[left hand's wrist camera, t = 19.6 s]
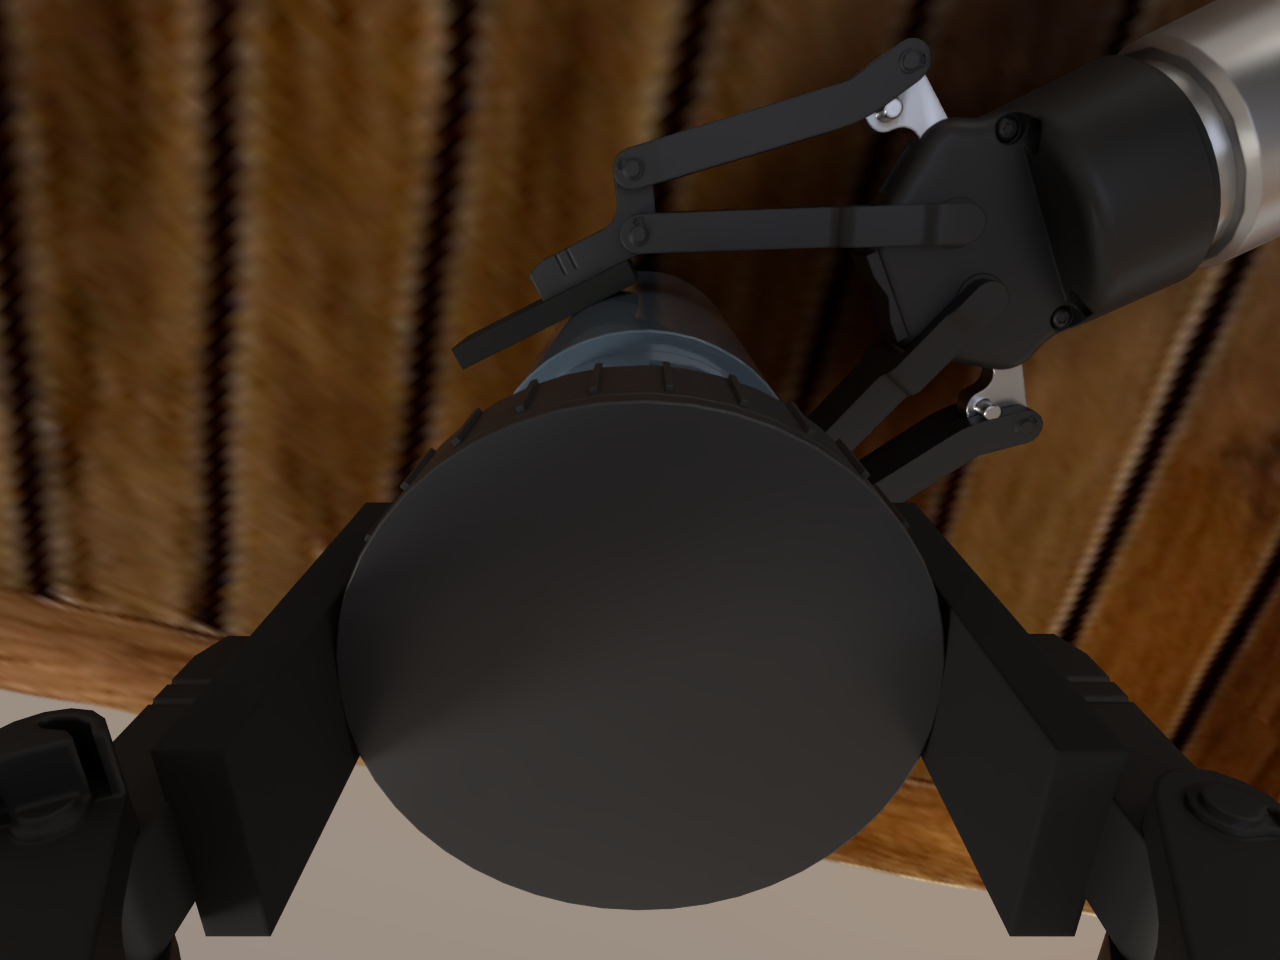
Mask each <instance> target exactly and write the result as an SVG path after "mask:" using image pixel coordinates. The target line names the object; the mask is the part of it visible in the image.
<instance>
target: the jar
mask: <svg viewBox="0 0 1280 960" xmlns="http://www.w3.org/2000/svg"><path fill="white" fill-rule="evenodd" d="M637 273H638V282H637V283H635V284H633V285H631V286H629V287H627V288H625V289H623V290H621V291H619V292H617V293H615V294H613V295H611V296H609V297H607V298H605V299H603V300H601V301H599V302H597V303H595V304H593V305H591V306H589V307H587V308H585V309H583V310H581V311H579V312H577V313H575V314H573V315H571V316H569V317H567V318H565V319H563V320H561V322H560V323H559V325H558V326H557V328H556V329H555V331H554V332H553V334H552V335H551V337H550V338H549V340H548V341H547V343H546V344H545V346H544V347H543V349H542V350H541V352H540V353H539V355H538V356H537V358H536V359H535V361H534V362H533V364H532V365H531V367H530V368H529V370H528V371H527V373H526V374H525V376H524V377H523V379H522V380H521V382H520V383H519V385H518V386H517V388H516V389H515V391H514V392H513V394H515V393H517V392H519V391H522V390H524V389H526V388H527V386H528V384H529V383H530V381H531V380H534V379H537V380H538V382H539V383H542V382H545V381H548V380H551V379H554V378H557V377H560V376H563V375H566V374H571V373H576V372H582V371H587V370H593V369H594V366H595V364H597V363H602V365H603V367H618V366H637V365H649V366H662V365H663V361H666V362H670V364H671V367H675V368H685V369H689V370H694V371H699V372H704V373H708V374H713V375H718V376H722V377H725V378H727V379H728V376H729V374H732V375H735V376H736V377H737V379H738V381H739V383H742V384H745V385H747V386H750V387H753V388H756V389H758V390H760V391H762V392H764V393H766V394H768V395H770V396H772V397H774V398H775V399H777V400H779V401H780V399H779V398H778V396H777V395H776V393H775V392H774V390H773V389H772V387H771V386H770V385H769V383H768V382H767V380H766V379H765V377H764V376H763V374H762V373H761V371H760V370H759V368H758V367H757V366H756V364H755V363H754V361H753V360H752V358H751V357H750V355H749V354H748V352H747V351H746V349H745V348H744V347H743V345H742V344H741V342H740V341H739V339H738V338H737V336H736V335H735V333H734V332H733V330H732V329H731V328H730V326H729V325H728V323H727V322H726V320H725V319H724V317H723V316H722V314H721V313H720V312H719V310H718V309H717V308H716V306H715V305H714V304H713V302H712V301H711V300H710V299H709V298H708V297H707V296H706V295H705V294H704V293H702V292H701V291H700V290H698V289H697V288H696V287H694V286H693V285H691V284H689V283H688V282H686V281H684V280H682V279H679V278H677V277H674V276H672V275H668V274H664V273H660V272H651V271H637ZM513 394H512V395H513Z"/></svg>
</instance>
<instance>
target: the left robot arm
mask: <svg viewBox="0 0 1280 960" xmlns="http://www.w3.org/2000/svg"><path fill="white" fill-rule="evenodd" d="M892 504H893V505H894V506H895V508H896V509H897V510H898V511H899V513H900V514H901V515H902V516H903V518H904V519H905V520H906V521H907V523H908V525H909V526H910V527H909V528H908V529H906V530H907V532H908V533H909V535H910V537H911V539H912V540H913V542H914V544H915V545H916V547H917V549H918V551H919V552H920V554H921V556H922V558H923V559H924V562H925V564H926V567H927V570H928V572H929V575H930V577H931V579H932V583H933V585H934V588H935V591H936V593H937V598H938V603H939V607H940V612H941V617H942V622H943V627H944V646H945V668H944V674H943V680H942V686H941V692H940V698H939V703H938V708H937V713H936V717H935V721H934V725H933V728H932V730H931V733H930V735H929V737H928V740H927V742H926V744H925V746H924V749H923V751H922V753H921V757H922V759H923V761H924V763H925V765H926V767H927V769H928V771H929V773H930V775H931V777H932V780H933V782H934V784H935V786H936V788H937V790H938V792H939V794H940V796H941V798H942V800H943V802H944V804H945V806H946V808H947V810H948V812H949V814H950V816H951V818H952V820H953V822H954V824H955V826H956V828H957V830H958V832H959V834H960V836H961V838H962V840H963V842H964V844H965V846H966V848H967V850H968V852H969V854H970V856H971V858H972V860H973V863H974V865H975V867H976V869H977V871H978V873H979V875H980V877H981V879H982V881H983V883H984V885H985V887H986V889H987V891H988V893H989V895H990V897H991V899H992V901H993V903H994V905H995V907H996V909H997V911H998V913H999V915H1000V917H1001V919H1002V921H1003V923H1004V925H1005V927H1006V929H1007V931H1008V933H1009V935H1010V936H1075V933H1076V930H1077V926H1078V923H1079V920H1080V916H1081V913H1082V910H1083V907H1084V903H1085V900H1086V899H1087V901H1088V903H1089V904H1090V906H1091V907H1092V909H1093V911H1094V912H1095V914H1096V915H1097V917H1098V919H1099V920H1100V922H1101V923H1102V925H1103V927H1104V928H1105V930H1106V934H1105V937H1104V940H1103V943H1102V946H1101V950H1100V953H1099V956H1098V959H1097V960H1280V804H1279V803H1278V802H1277V801H1275V800H1274V799H1273V798H1272V797H1270V796H1268V795H1267V794H1265V793H1263V792H1261V791H1259V790H1257V789H1256V788H1254V787H1252V786H1250V785H1248V784H1247V783H1245V782H1243V781H1240V780H1237V779H1234V778H1232V777H1229V776H1226V775H1223V774H1220V773H1218V772H1215V771H1209V770H1202V769H1197V768H1196V767H1195V766H1194V765H1193V764H1192V763H1191V762H1190V761H1189V760H1188V759H1187V758H1186V757H1185V756H1184V755H1183V754H1182V753H1181V752H1180V751H1179V750H1178V749H1177V748H1176V746H1175V745H1174V744H1173V743H1172V742H1171V741H1170V740H1169V739H1168V738H1167V737H1166V736H1165V735H1164V734H1163V733H1162V732H1161V731H1160V730H1159V729H1158V728H1157V727H1156V726H1155V725H1154V724H1153V723H1152V721H1151V720H1150V719H1149V718H1148V717H1147V716H1146V715H1145V714H1144V713H1143V712H1142V711H1141V710H1140V709H1139V708H1138V707H1137V706H1136V705H1135V704H1134V703H1133V702H1129V701H1128V696H1127V695H1126V694H1125V693H1124V692H1123V691H1122V690H1121V689H1120V688H1119V687H1118V686H1117V685H1116V684H1115V683H1114V682H1110V681H1109V677H1108V676H1107V675H1106V673H1105V672H1104V671H1103V670H1102V669H1101V668H1100V667H1099V666H1098V665H1097V664H1096V663H1095V662H1094V661H1093V660H1092V659H1091V658H1090V657H1089V656H1088V655H1087V654H1086V653H1084V652H1083V651H1081V650H1079V649H1078V648H1076V647H1074V646H1073V645H1071V644H1069V643H1068V642H1066V641H1065V640H1063V639H1061V638H1060V637H1058V636H1056V635H1055V634H1028V633H1027V632H1026V630H1025V629H1024V628H1023V627H1022V626H1021V625H1020V624H1019V622H1018V621H1017V620H1016V619H1015V618H1014V617H1013V616H1012V614H1011V613H1010V612H1009V611H1008V610H1007V609H1006V608H1005V606H1004V605H1003V604H1002V603H1001V602H1000V601H999V599H998V598H997V597H996V596H995V595H994V594H993V593H992V591H991V590H990V589H989V588H988V587H987V586H986V585H985V583H984V582H983V581H982V580H981V579H980V578H979V577H978V575H977V574H976V573H975V572H974V571H973V570H972V568H971V567H970V566H969V565H968V564H967V563H966V562H965V560H964V559H963V558H962V557H961V556H960V555H959V554H958V552H957V551H956V550H955V549H954V548H953V547H952V546H951V544H950V543H949V542H948V541H947V540H946V539H945V538H944V536H943V535H942V534H941V533H940V532H939V531H938V529H937V528H936V527H935V526H934V525H933V524H932V523H931V521H930V520H929V519H928V518H927V517H926V516H925V515H924V513H923V512H922V511H921V510H920V509H919V508H918V507H917V505H916V504H915V503H892ZM390 505H391V503H366V504H365V505H364V506H363V507H362V508H361V509H360V511H359V512H358V513H357V514H356V515H355V516H354V517H353V519H352V520H351V521H350V522H349V523H348V524H347V525H346V527H345V528H344V529H343V530H342V531H341V532H340V533H339V535H338V536H337V537H336V538H335V539H334V540H333V542H332V543H331V544H330V545H329V546H328V547H327V548H326V550H325V551H324V552H323V553H322V554H321V555H320V556H319V558H318V559H317V560H316V561H315V562H314V563H313V564H312V566H311V567H310V568H309V569H308V570H307V571H306V573H305V574H304V575H303V576H302V577H301V578H300V579H299V581H298V582H297V583H296V584H295V585H294V586H293V587H292V589H291V590H290V591H289V592H288V593H287V594H286V595H285V597H284V598H283V599H282V600H281V601H280V602H279V604H278V605H277V606H276V607H275V608H274V609H273V610H272V612H271V613H270V614H269V615H268V616H267V617H266V618H265V620H264V621H263V622H262V623H261V624H260V625H259V626H258V628H257V629H256V630H255V631H254V632H253V633H252V634H251V636H227V637H225V638H224V639H222V640H220V641H219V642H217V643H215V644H214V645H212V646H211V647H209V648H207V649H206V650H204V651H202V652H201V653H199V654H197V655H196V656H194V657H193V658H192V659H191V660H190V661H189V663H188V664H187V665H186V666H185V667H184V668H183V669H182V670H181V671H180V672H179V673H178V674H177V675H176V676H175V677H174V678H173V679H172V684H171V685H167V686H166V687H165V688H164V689H163V690H162V691H161V692H160V693H159V694H158V695H157V696H156V697H155V698H154V699H153V704H152V705H148V706H147V707H146V708H145V709H144V710H143V711H142V712H141V713H140V714H139V715H138V716H137V717H136V718H135V719H134V720H133V721H132V722H131V723H130V724H129V726H128V727H127V728H126V729H125V730H124V731H123V732H122V733H121V734H120V735H119V736H118V737H117V738H116V739H115V740H114V741H113V742H112V739H111V736H110V732H109V729H108V726H107V723H106V720H105V718H103V717H102V716H100V715H99V714H97V713H96V712H94V711H93V710H83V709H73V708H70V709H63V710H56V711H49V712H43V713H40V714H37V715H34V716H31V717H27V718H24V719H21V720H18V721H15V722H12V723H10V724H8V725H6V726H4V727H2V728H0V960H181V958H180V952H179V947H178V943H177V940H176V937H175V933H176V931H177V930H178V928H179V926H180V925H181V923H182V922H183V920H184V918H185V917H186V915H187V914H188V912H189V910H190V909H191V907H192V906H193V904H194V902H195V901H196V905H197V908H198V911H199V915H200V918H201V921H202V925H203V928H204V931H205V935H206V936H271V934H272V932H273V930H274V928H275V926H276V924H277V922H278V920H279V918H280V916H281V914H282V912H283V910H284V908H285V906H286V904H287V902H288V900H289V898H290V896H291V894H292V892H293V890H294V888H295V886H296V884H297V882H298V880H299V878H300V876H301V874H302V872H303V869H304V867H305V865H306V863H307V861H308V859H309V857H310V855H311V853H312V851H313V849H314V847H315V845H316V843H317V841H318V839H319V837H320V835H321V833H322V831H323V829H324V827H325V825H326V823H327V821H328V819H329V817H330V815H331V813H332V811H333V809H334V807H335V805H336V803H337V801H338V799H339V797H340V795H341V793H342V791H343V788H344V787H345V784H346V782H347V780H348V778H349V776H350V774H351V772H352V770H353V768H354V766H355V764H356V762H357V760H358V758H359V756H360V754H359V752H358V750H357V748H356V745H355V743H354V740H353V738H352V735H351V733H350V730H349V728H348V725H347V723H346V719H345V715H344V711H343V705H342V700H341V695H340V690H339V683H338V677H337V668H336V656H335V655H336V641H337V628H338V619H339V615H340V611H341V607H342V602H343V598H344V594H345V590H346V586H347V584H348V582H349V579H350V577H351V574H352V572H353V569H354V567H355V565H356V562H357V560H358V557H359V555H360V553H361V551H362V550H363V548H364V547H365V545H366V543H367V541H365V540H364V539H365V537H366V535H367V534H368V532H369V531H370V530H371V529H372V527H373V526H374V525H375V524H376V522H377V521H378V520H379V519H380V517H381V516H382V515H383V513H384V512H385V511H386V510H387V508H388V507H389V506H390Z"/></svg>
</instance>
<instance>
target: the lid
mask: <svg viewBox="0 0 1280 960" xmlns="http://www.w3.org/2000/svg"><path fill="white" fill-rule="evenodd" d="M869 476H870V474H869V473H868V472H867V470H866V469H865V468H864V467H863V465H862V464H861V463H860V462H859V460H858V459H857V458H856V457H855V455H854V454H853V453H852V452H851V450H850V449H849V448H848V447H847V445H846V444H845V443H844V442H843V441H842V440H841V439H840V438H838V439H837V440H836V441H834V440H833V439H832V438H831V437H830V436H829V435H828V434H826V433H825V432H824V431H823V430H822V429H821V428H820V427H819V426H818V425H816V424H815V423H813V422H812V421H811V420H809V419H808V418H806V417H805V416H804V415H803V414H802V412H801V411H800V410H799V408H798V407H797V405H796V404H795V403H794V402H792V401H791V400H789V401H788V403H787V404H785V403H783V402H781V401H779V400H777V399H775V398H774V397H772V396H770V395H768V394H766V393H764V392H762V391H760V390H758V389H756V388H753V387H750V386H747V385H745V384H742V383H739V381H738V379H737V377H736V376H735V375H732V374H729V376H728V379H727V378H725V377H722V376H718V375H713V374H708V373H704V372H699V371H694V370H689V369H685V368H675V367H671V364H670V362H666V361H663V365H662V366H649V365H637V366H618V367H603V365H602V363H597V364H595V366H594V369H593V370H587V371H582V372H576V373H571V374H566V375H563V376H560V377H557V378H554V379H551V380H548V381H545V382H542V383H539V382H538V380H537V379H534V380H531V381H530V383H529V384H528V386H527V388H526V389H524V390H522V391H519V392H517V393H515V394H513V395H511V396H509V397H507V398H505V399H503V400H501V401H499V402H497V403H495V404H494V405H492V406H491V407H489V408H488V409H486V410H485V411H483V412H482V411H481V410H480V409H479V408H477V409H476V410H475V411H473V413H472V414H471V415H470V417H469V418H468V419H467V421H466V422H465V423H464V425H463V426H462V427H461V428H460V429H459V430H458V431H457V432H456V433H454V434H453V435H452V436H451V437H450V438H449V439H448V440H446V441H445V442H444V443H443V444H442V445H441V446H440V447H439V448H438V450H437V451H435V450H434V449H433V448H431V449H430V450H429V451H428V452H427V453H426V455H425V456H424V457H423V458H422V460H421V461H420V462H419V463H418V465H417V466H416V467H415V468H414V470H413V471H412V472H411V473H410V475H409V476H408V477H407V478H406V479H405V481H404V482H403V483H402V484H401V486H400V487H401V488H402V489H403V490H404V491H403V493H402V494H401V495H400V496H397V497H396V498H395V500H394V501H393V502H392V503H391V505H390V506H389V507H388V508H387V510H386V511H385V512H384V513H383V515H382V516H381V517H380V519H379V520H378V521H377V522H376V524H375V525H374V526H373V527H372V529H371V530H370V531H369V532H368V534H367V535H366V537H365V539H364V540H365V541H367V543H366V545H365V547H364V548H363V550H362V551H361V553H360V555H359V557H358V560H357V562H356V565H355V567H354V569H353V572H352V574H351V577H350V579H349V582H348V584H347V586H346V590H345V594H344V598H343V602H342V607H341V611H340V615H339V619H338V628H337V641H336V655H335V656H336V668H337V677H338V683H339V690H340V695H341V700H342V705H343V711H344V715H345V719H346V723H347V725H348V728H349V730H350V733H351V735H352V738H353V740H354V743H355V745H356V748H357V750H358V752H359V754H360V756H361V758H362V759H363V761H364V763H365V764H366V766H367V768H368V770H369V771H370V773H371V775H372V776H373V778H374V780H375V781H376V783H377V784H378V785H379V787H380V788H381V789H382V790H383V792H384V793H385V794H386V796H387V797H388V798H389V799H390V801H391V802H392V803H393V805H394V806H395V807H396V808H397V809H398V810H399V811H400V812H401V813H402V814H403V815H404V816H405V817H406V818H407V819H408V820H409V821H410V822H411V823H412V824H413V825H414V826H415V827H416V828H417V829H418V830H419V831H420V832H422V833H423V834H424V835H425V836H427V837H428V838H429V839H430V840H432V841H433V842H434V843H436V844H437V845H438V846H439V847H441V848H442V849H443V850H445V851H446V852H447V853H449V854H451V855H452V856H454V857H456V858H457V859H459V860H460V861H462V862H464V863H465V864H467V865H468V866H470V867H472V868H473V869H475V870H477V871H480V872H482V873H484V874H486V875H488V876H490V877H492V878H494V879H496V880H498V881H500V882H502V883H505V884H508V885H510V886H513V887H516V888H519V889H521V890H524V891H527V892H530V893H532V894H535V895H539V896H543V897H547V898H551V899H555V900H559V901H563V902H567V903H572V904H578V905H585V906H592V907H598V908H608V909H626V910H654V909H674V908H681V907H689V906H696V905H703V904H709V903H713V902H717V901H722V900H726V899H730V898H734V897H739V896H742V895H745V894H748V893H750V892H753V891H756V890H759V889H762V888H765V887H768V886H771V885H773V884H776V883H778V882H780V881H782V880H784V879H786V878H789V877H791V876H793V875H795V874H797V873H800V872H802V871H803V870H805V869H807V868H809V867H810V866H812V865H813V864H815V863H817V862H819V861H820V860H822V859H824V858H825V857H827V856H829V855H830V854H832V853H833V852H835V851H836V850H837V849H839V848H840V847H841V846H843V845H844V844H845V843H846V842H848V841H849V840H850V839H852V838H853V837H854V836H856V835H857V834H858V833H859V832H860V831H861V830H862V829H863V828H865V827H866V826H867V825H868V824H869V823H870V822H871V821H872V820H873V819H874V818H875V817H876V816H877V815H878V814H879V813H880V812H881V811H882V810H883V809H884V808H885V806H886V805H887V804H888V803H889V801H890V800H891V799H892V798H893V797H894V795H895V794H896V793H897V792H898V790H899V789H900V788H901V787H902V785H903V784H904V782H905V781H906V779H907V777H908V776H909V774H910V772H911V771H912V769H913V768H914V766H915V764H916V763H917V761H918V759H919V758H920V756H921V753H922V751H923V749H924V746H925V744H926V742H927V740H928V737H929V735H930V733H931V730H932V728H933V725H934V721H935V717H936V713H937V708H938V703H939V698H940V692H941V686H942V680H943V674H944V668H945V646H944V627H943V622H942V617H941V612H940V607H939V603H938V598H937V593H936V591H935V588H934V585H933V583H932V579H931V577H930V575H929V572H928V570H927V567H926V564H925V562H924V559H923V558H922V556H921V554H920V552H919V551H918V549H917V547H916V545H915V544H914V542H913V540H912V539H911V537H910V535H909V533H908V532H907V530H906V529H908V528H909V527H910V526H909V525H908V523H907V521H906V520H905V519H904V518H903V516H902V515H901V514H900V513H899V511H898V510H897V509H896V508H895V506H894V505H893V504H892V503H891V501H890V500H889V499H888V498H887V496H886V495H885V494H884V493H883V491H882V490H881V489H880V488H879V486H878V485H877V484H875V485H873V486H872V484H871V483H870V482H869V481H868V479H867V478H868V477H869Z"/></svg>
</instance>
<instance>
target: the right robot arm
mask: <svg viewBox="0 0 1280 960" xmlns="http://www.w3.org/2000/svg"><path fill="white" fill-rule="evenodd" d="M930 64H931V53H930V49H929V47H928V46H927V44H926V43H925V42H924V41H922V40H920V39H918V38H908V39H906V40H904V41H902V42H900V43H898V44H897V45H895V46H893V47H892V48H890V49H888V50H887V51H885V52H883V53H882V54H880V55H879V56H877V57H875V58H874V59H873V60H871V61H870V62H869V63H867V64H866V65H865V66H864V67H862V68H861V69H860V70H858V71H857V72H856V73H854V74H853V75H852V76H850V77H849V78H848V79H846V80H845V81H844V82H842V83H838V84H835V85H832V86H829V87H825V88H822V89H819V90H816V91H812V92H809V93H806V94H803V95H799V96H796V97H793V98H790V99H786V100H783V101H780V102H776V103H773V104H770V105H767V106H763V107H760V108H757V109H754V110H750V111H747V112H744V113H741V114H737V115H734V116H731V117H727V118H724V119H721V120H718V121H714V122H711V123H708V124H705V125H701V126H698V127H695V128H692V129H688V130H685V131H682V132H678V133H675V134H672V135H669V136H665V137H662V138H659V139H656V140H652V141H649V142H646V143H643V144H639V145H636V146H633V147H629V148H627V149H625V150H623V151H621V152H620V153H619V154H618V155H617V157H616V158H615V161H614V164H613V175H614V182H615V191H616V201H617V210H616V214H615V217H614V219H613V221H612V222H611V223H610V225H609V226H607V227H606V228H604V229H602V230H600V231H598V232H596V233H595V234H593V235H591V236H589V237H587V238H585V239H583V240H581V241H579V242H577V243H575V244H573V245H571V246H569V247H567V248H565V249H563V250H562V251H560V252H558V253H556V254H554V255H552V256H550V257H548V258H546V259H544V260H543V261H541V262H540V263H539V264H538V265H537V266H536V267H535V269H534V270H533V271H532V272H531V273H530V275H529V276H530V277H531V279H532V281H533V283H534V285H535V287H536V289H537V291H538V293H539V295H540V297H541V299H540V300H538V301H536V302H534V303H532V304H530V305H528V306H526V307H524V308H522V309H520V310H518V311H516V312H514V313H512V314H510V315H508V316H506V317H504V318H502V319H500V320H498V321H496V322H494V323H493V324H491V325H489V326H487V327H485V328H483V329H481V330H479V331H477V332H475V333H473V334H471V335H469V336H468V337H466V338H465V339H464V340H463V341H461V342H460V343H459V344H457V345H456V346H455V347H454V348H452V349H451V350H452V352H453V354H454V355H455V357H456V359H457V360H458V362H459V364H460V366H461V367H462V369H465V368H467V367H469V366H471V365H473V364H475V363H477V362H479V361H481V360H483V359H485V358H487V357H489V356H491V355H493V354H495V353H497V352H499V351H501V350H503V349H505V348H507V347H509V346H511V345H513V344H515V343H517V342H519V341H521V340H523V339H525V338H527V337H529V336H531V335H533V334H535V333H537V332H539V331H541V330H543V329H545V328H547V327H549V326H551V325H553V324H555V323H557V322H559V321H561V320H563V319H565V318H567V317H569V316H571V315H573V314H575V313H577V312H579V311H581V310H583V309H585V308H587V307H589V306H591V305H593V304H595V303H597V302H599V301H601V300H603V299H605V298H607V297H609V296H611V295H613V294H615V293H617V292H619V291H621V290H623V289H625V288H627V287H629V286H631V285H633V284H635V283H637V282H638V273H637V271H636V269H635V267H634V265H633V263H632V261H631V259H632V258H634V257H636V256H638V255H640V254H653V253H682V252H711V251H740V250H770V249H799V248H828V247H837V248H854V250H852V251H850V253H851V256H852V259H853V261H854V264H855V267H856V270H857V272H858V274H859V275H860V276H861V278H862V279H863V280H864V282H865V283H866V284H867V286H868V287H869V288H870V290H871V299H872V312H873V316H874V318H875V321H876V324H877V326H878V329H879V332H880V333H881V334H880V335H879V336H878V337H877V338H876V339H875V340H874V341H873V342H872V343H871V345H870V346H869V347H868V348H867V349H866V350H865V352H864V354H863V357H862V360H861V361H860V362H859V364H858V365H857V366H856V367H855V368H854V369H853V370H852V371H851V372H850V373H849V374H848V375H847V376H846V377H845V378H844V379H843V380H842V381H841V383H840V384H839V385H838V386H837V387H836V388H835V389H834V390H833V391H832V392H831V393H830V394H829V395H828V396H827V397H826V398H825V399H824V400H823V401H822V402H821V403H820V404H819V406H818V407H817V408H816V409H815V410H814V411H813V412H812V413H811V414H810V415H809V416H808V417H807V418H808V419H809V420H811V421H812V422H813V423H815V424H816V425H818V426H819V427H820V428H821V429H822V430H823V431H824V432H825V433H826V434H828V435H829V436H830V437H831V438H832V439H833V440H834V441H836V440H837V439H838V438H840V439H841V440H842V441H843V442H844V443H845V444H846V445H847V447H848V448H849V449H850V450H851V452H852V451H853V450H854V449H855V448H856V447H857V446H858V445H859V444H860V443H861V442H862V441H863V440H864V439H865V438H866V437H867V436H868V435H869V434H870V433H871V432H872V431H873V430H874V429H875V428H876V427H877V426H878V425H879V424H880V423H881V422H882V421H883V420H884V419H885V418H886V417H887V416H888V415H889V414H890V413H891V412H892V411H893V410H894V409H895V408H896V407H897V406H898V404H899V403H900V402H901V401H903V400H904V399H905V398H907V397H909V396H912V395H915V394H917V393H918V392H920V391H921V390H922V389H923V388H924V387H925V386H926V385H927V384H928V383H929V382H930V381H931V380H932V379H933V378H934V377H935V376H936V375H937V374H938V373H939V372H940V371H941V370H942V369H943V368H944V367H945V366H946V365H947V364H948V363H949V362H950V361H951V362H957V363H962V364H968V365H973V366H979V367H982V373H981V376H980V377H979V379H978V380H977V381H976V382H975V383H974V384H972V385H970V386H968V387H967V388H965V389H962V390H961V391H960V392H959V394H958V398H957V404H954V405H950V406H948V407H945V408H943V409H941V410H939V411H937V412H935V413H933V414H931V415H930V416H928V417H926V418H924V419H923V420H921V421H920V422H918V423H917V424H915V425H913V426H912V427H910V428H909V429H907V430H906V431H904V432H902V433H901V434H899V435H898V436H896V437H895V438H893V439H892V440H890V441H888V442H887V443H885V444H884V445H882V446H881V447H879V448H877V449H876V450H874V451H873V452H871V453H870V454H868V455H867V456H865V457H863V458H862V459H860V460H859V462H860V463H861V464H862V465H863V467H864V468H865V469H866V470H867V472H868V473H869V474H870V476H869V477H868V478H867V479H868V481H869V482H870V483H871V484H872V486H873V485H875V484H877V485H878V486H879V488H880V489H881V490H882V491H883V493H884V494H885V495H886V496H887V498H888V499H889V500H890V501H891V503H902V502H904V501H906V500H907V499H909V498H911V497H912V496H914V495H915V494H917V493H919V492H920V491H922V490H924V489H925V488H927V487H928V486H930V485H932V484H933V483H935V482H936V481H938V480H940V479H941V478H943V477H945V476H946V475H948V474H949V473H951V472H953V471H954V470H956V469H958V468H959V467H961V466H962V465H964V464H966V463H967V462H969V461H970V460H972V459H974V458H975V457H977V456H979V455H982V454H986V453H990V452H994V451H997V450H1001V449H1005V448H1009V447H1013V446H1017V445H1020V444H1024V443H1028V442H1030V441H1032V440H1034V439H1035V438H1036V437H1037V436H1038V435H1039V434H1040V432H1041V430H1042V426H1043V421H1042V418H1041V416H1040V415H1039V414H1038V413H1037V412H1035V411H1033V410H1032V409H1030V408H1028V407H1027V404H1026V395H1025V386H1024V377H1023V368H1022V364H1023V363H1024V362H1026V361H1027V360H1028V359H1029V358H1030V357H1031V356H1032V355H1033V354H1034V353H1035V352H1036V351H1037V349H1038V348H1039V347H1040V346H1041V345H1042V344H1043V343H1045V342H1046V341H1047V340H1048V339H1049V338H1051V337H1052V336H1054V335H1055V334H1057V333H1059V332H1061V331H1064V330H1067V329H1069V328H1072V327H1075V326H1078V325H1081V324H1083V323H1086V322H1088V321H1091V320H1093V319H1095V318H1098V317H1100V316H1102V315H1104V314H1107V313H1109V312H1111V311H1113V310H1116V309H1118V308H1120V307H1122V306H1125V305H1127V304H1129V303H1131V302H1134V301H1136V300H1138V299H1140V298H1143V297H1145V296H1147V295H1149V294H1152V293H1154V292H1156V291H1158V290H1161V289H1163V288H1165V287H1167V286H1170V285H1172V284H1174V283H1177V282H1179V281H1181V280H1183V279H1185V278H1186V277H1188V276H1189V275H1190V274H1192V273H1193V272H1194V271H1195V270H1196V269H1197V268H1205V267H1210V266H1215V265H1219V264H1221V263H1223V262H1225V261H1228V260H1230V259H1232V258H1234V257H1236V256H1238V255H1241V254H1243V253H1245V252H1247V251H1249V250H1252V249H1254V248H1256V247H1258V246H1260V245H1263V244H1265V243H1267V242H1269V241H1271V240H1274V239H1276V238H1278V237H1280V0H1215V1H1213V2H1211V3H1209V4H1207V5H1205V6H1203V7H1201V8H1199V9H1197V10H1195V11H1193V12H1191V13H1189V14H1187V15H1185V16H1183V17H1181V18H1179V19H1177V20H1175V21H1173V22H1171V23H1169V24H1166V25H1164V26H1162V27H1160V28H1158V29H1156V30H1154V31H1152V32H1150V33H1148V34H1146V35H1144V36H1142V37H1140V38H1138V39H1136V40H1134V41H1133V42H1131V43H1129V44H1127V45H1126V46H1125V47H1124V48H1123V49H1122V50H1121V51H1120V52H1119V53H1118V54H1117V55H1108V56H1103V57H1100V58H1097V59H1095V60H1093V61H1091V62H1089V63H1087V64H1085V65H1083V66H1081V67H1079V68H1077V69H1075V70H1073V71H1071V72H1069V73H1067V74H1065V75H1063V76H1061V77H1059V78H1057V79H1055V80H1053V81H1051V82H1049V83H1047V84H1045V85H1043V86H1041V87H1039V88H1037V89H1035V90H1033V91H1031V92H1029V93H1027V94H1025V95H1023V96H1021V97H1019V98H1017V99H1015V100H1013V101H1011V102H1009V103H1007V104H1005V105H1003V106H1001V107H999V108H997V109H995V110H993V111H991V112H989V113H986V114H984V115H982V116H979V117H976V118H964V117H950V118H947V116H946V114H945V112H944V110H943V108H942V106H941V104H940V102H939V100H938V98H937V96H936V94H935V92H934V91H933V89H932V87H931V85H930V83H929V81H928V79H927V77H926V73H927V71H928V69H929V67H930ZM856 122H859V124H860V126H861V127H862V128H863V130H864V131H866V132H867V133H869V134H873V135H875V134H882V133H885V132H889V131H891V130H898V131H901V132H903V133H904V134H906V136H907V137H908V138H909V141H908V143H907V145H906V146H905V148H904V150H903V151H902V153H901V155H900V156H899V158H898V160H897V161H896V163H895V165H894V166H893V168H892V169H891V171H890V173H889V174H888V176H887V178H886V179H885V181H884V183H883V184H882V186H881V188H880V189H879V191H878V193H877V194H876V196H875V197H874V199H873V201H872V202H871V204H863V205H834V206H813V207H785V208H756V209H728V210H699V211H671V212H656V211H655V200H654V189H653V185H656V184H660V183H663V182H666V181H670V180H673V179H676V178H680V177H683V176H686V175H690V174H693V173H696V172H700V171H703V170H706V169H710V168H713V167H716V166H720V165H723V164H726V163H730V162H733V161H736V160H740V159H743V158H746V157H750V156H753V155H756V154H760V153H763V152H766V151H770V150H773V149H776V148H780V147H783V146H786V145H790V144H793V143H796V142H800V141H803V140H806V139H810V138H813V137H816V136H820V135H823V134H826V133H829V132H831V131H834V130H837V129H840V128H843V127H845V126H848V125H851V124H854V123H856Z"/></svg>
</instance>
